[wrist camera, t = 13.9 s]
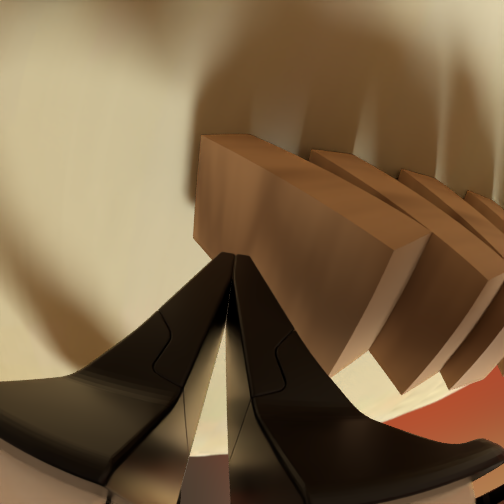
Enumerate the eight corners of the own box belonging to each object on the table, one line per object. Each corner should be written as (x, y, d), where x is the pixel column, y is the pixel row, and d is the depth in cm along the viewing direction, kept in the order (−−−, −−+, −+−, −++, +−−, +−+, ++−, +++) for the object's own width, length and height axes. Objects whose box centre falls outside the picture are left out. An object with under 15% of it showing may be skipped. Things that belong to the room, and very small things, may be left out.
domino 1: (235, 228, 16) (368, 349, 10) (193, 237, 14) (324, 381, 9) (249, 134, 13) (432, 231, 7) (201, 135, 12) (393, 250, 6)
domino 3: (404, 255, 16) (483, 379, 9) (371, 252, 16) (449, 390, 8) (435, 178, 13) (554, 286, 6) (401, 168, 13) (530, 287, 6)
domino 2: (326, 242, 16) (439, 371, 9) (288, 246, 15) (401, 395, 8) (352, 154, 13) (513, 267, 7) (311, 149, 12) (488, 280, 6)
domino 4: (461, 266, 16) (526, 371, 9) (436, 261, 16) (502, 376, 9) (491, 199, 14) (584, 293, 6) (467, 190, 14) (568, 290, 6)
